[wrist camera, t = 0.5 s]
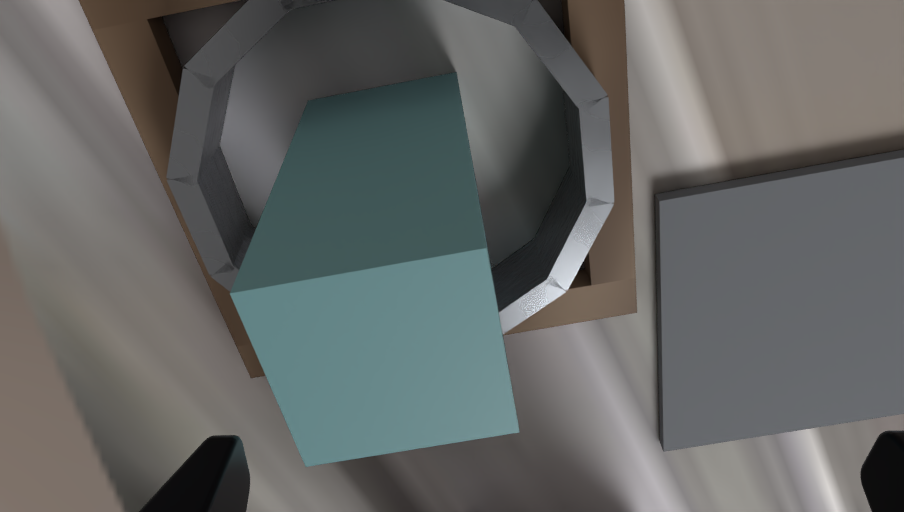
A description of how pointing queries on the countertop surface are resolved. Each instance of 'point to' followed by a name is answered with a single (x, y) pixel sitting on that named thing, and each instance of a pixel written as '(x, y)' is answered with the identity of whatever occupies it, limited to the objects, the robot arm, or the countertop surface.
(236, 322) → the walnut stand
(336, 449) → the teal post
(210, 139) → the metal ring
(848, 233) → the charcoal mat
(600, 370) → the countertop surface
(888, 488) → the robot arm
